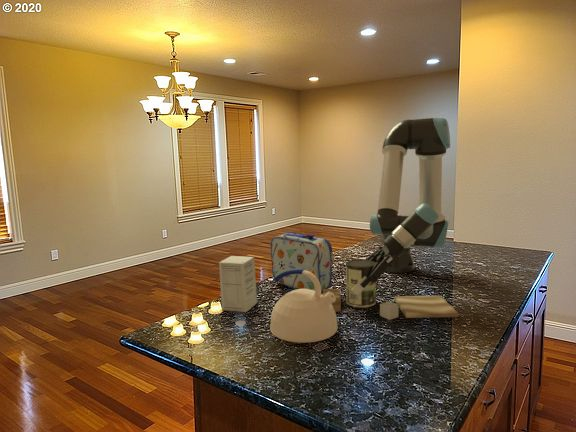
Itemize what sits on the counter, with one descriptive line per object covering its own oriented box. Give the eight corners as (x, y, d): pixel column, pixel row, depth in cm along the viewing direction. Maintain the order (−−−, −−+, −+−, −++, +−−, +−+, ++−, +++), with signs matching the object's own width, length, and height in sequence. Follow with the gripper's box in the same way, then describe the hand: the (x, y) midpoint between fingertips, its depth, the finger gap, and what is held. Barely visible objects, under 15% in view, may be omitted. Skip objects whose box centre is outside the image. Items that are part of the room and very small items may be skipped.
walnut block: (320, 308, 137) (320, 293, 136) (334, 306, 138) (334, 292, 137) (326, 313, 132) (326, 298, 131) (340, 311, 133) (340, 296, 133)
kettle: (319, 350, 108) (317, 284, 105) (256, 333, 118) (253, 274, 116) (349, 322, 124) (349, 265, 122) (292, 310, 135) (290, 258, 133)
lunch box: (339, 291, 152) (338, 234, 149) (322, 298, 145) (321, 238, 142) (286, 277, 171) (284, 226, 168) (268, 284, 164) (266, 230, 160)
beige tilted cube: (379, 316, 129) (380, 304, 128) (388, 313, 131) (388, 301, 130) (389, 320, 125) (389, 307, 125) (398, 317, 127) (398, 304, 127)
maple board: (394, 299, 142) (394, 296, 142) (440, 298, 142) (440, 295, 142) (406, 317, 126) (406, 314, 126) (458, 316, 126) (458, 313, 126)
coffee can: (375, 297, 145) (375, 259, 142) (376, 308, 135) (376, 267, 132) (346, 296, 147) (346, 258, 144) (344, 307, 137) (344, 266, 134)
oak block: (323, 299, 145) (322, 289, 144) (340, 299, 144) (339, 288, 144) (323, 304, 140) (323, 293, 139) (340, 304, 139) (340, 293, 139)
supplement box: (257, 303, 143) (255, 256, 140) (246, 312, 134) (244, 263, 131) (233, 300, 146) (230, 255, 143) (220, 310, 137) (218, 261, 135)
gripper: (415, 257, 126) (365, 306, 129) (398, 241, 149) (355, 284, 151) (399, 241, 126) (348, 290, 128) (383, 228, 148) (341, 270, 151)
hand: (352, 287), depth 140 cm, fingers closed on coffee can, 10 cm apart
